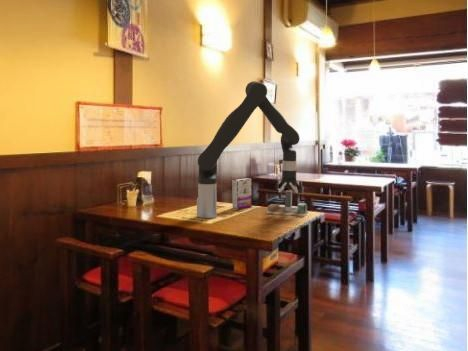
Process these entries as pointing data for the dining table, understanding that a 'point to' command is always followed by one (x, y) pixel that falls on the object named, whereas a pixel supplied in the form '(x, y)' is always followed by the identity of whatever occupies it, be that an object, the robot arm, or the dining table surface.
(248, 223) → the dining table surface
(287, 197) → the gray t-shaped block
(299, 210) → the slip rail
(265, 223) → the dining table surface
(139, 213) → the dining table surface
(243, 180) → the candy bar box
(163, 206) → the dining table surface
